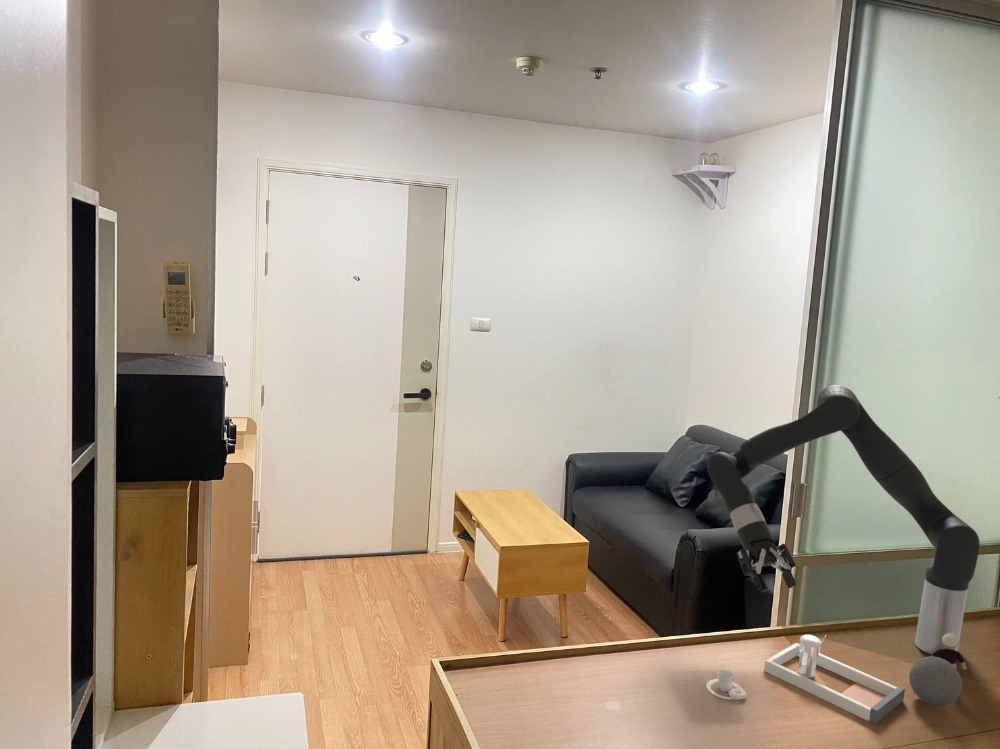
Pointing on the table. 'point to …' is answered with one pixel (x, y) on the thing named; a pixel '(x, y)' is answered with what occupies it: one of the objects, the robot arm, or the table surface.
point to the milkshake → (809, 655)
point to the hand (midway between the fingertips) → (778, 589)
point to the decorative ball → (935, 681)
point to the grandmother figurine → (950, 651)
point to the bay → (851, 699)
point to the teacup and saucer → (727, 686)
